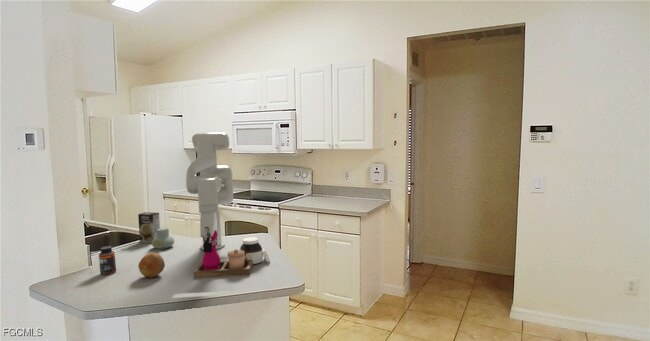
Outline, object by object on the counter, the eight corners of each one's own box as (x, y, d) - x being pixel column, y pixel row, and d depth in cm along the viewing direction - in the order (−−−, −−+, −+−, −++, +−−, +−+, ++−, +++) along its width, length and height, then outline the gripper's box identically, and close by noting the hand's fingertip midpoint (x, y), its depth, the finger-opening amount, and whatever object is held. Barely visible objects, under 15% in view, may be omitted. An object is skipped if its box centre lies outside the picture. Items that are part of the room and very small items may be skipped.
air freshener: (149, 249, 195) (148, 230, 194) (159, 244, 203) (158, 226, 202) (167, 250, 193) (166, 231, 192) (177, 245, 201) (176, 227, 200)
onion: (139, 274, 159) (138, 251, 158) (165, 270, 162) (163, 248, 162) (138, 282, 150) (136, 258, 149) (165, 278, 154) (163, 254, 153)
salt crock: (229, 268, 160) (228, 247, 159) (246, 267, 160) (245, 246, 160) (227, 274, 153) (225, 252, 152) (244, 273, 153) (243, 251, 153)
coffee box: (139, 242, 208) (137, 214, 207) (146, 239, 215) (144, 211, 213) (154, 243, 207) (152, 214, 205) (161, 239, 213) (159, 212, 212)
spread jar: (237, 264, 168) (236, 239, 167) (258, 258, 176) (257, 234, 175) (254, 270, 160) (252, 243, 159) (274, 263, 168) (273, 238, 167)
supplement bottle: (113, 269, 166) (112, 244, 165) (118, 272, 161) (116, 247, 160) (98, 273, 161) (96, 247, 160) (102, 276, 157) (100, 250, 156)
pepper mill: (215, 275, 152) (213, 227, 150) (199, 274, 153) (196, 226, 151) (223, 269, 159) (221, 222, 157) (208, 268, 160) (205, 222, 158)
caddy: (201, 270, 161) (200, 262, 161) (252, 268, 163) (252, 260, 162) (194, 280, 150) (193, 271, 150) (249, 277, 152) (249, 268, 151)
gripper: (204, 204, 162) (206, 242, 164) (193, 213, 145) (196, 255, 147) (221, 203, 162) (223, 242, 164) (213, 212, 145) (215, 255, 147)
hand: (210, 248), depth 155 cm, fingers open, 9 cm apart
